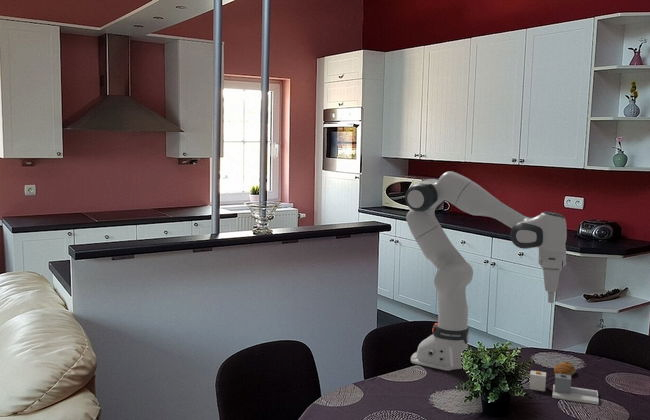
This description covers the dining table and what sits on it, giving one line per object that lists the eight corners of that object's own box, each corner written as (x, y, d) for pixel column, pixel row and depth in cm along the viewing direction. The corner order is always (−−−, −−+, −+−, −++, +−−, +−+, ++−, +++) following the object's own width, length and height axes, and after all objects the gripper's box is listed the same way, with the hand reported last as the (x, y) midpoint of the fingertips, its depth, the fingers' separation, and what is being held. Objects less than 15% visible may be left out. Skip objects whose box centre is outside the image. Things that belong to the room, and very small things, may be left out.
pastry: (567, 380, 221) (568, 369, 221) (549, 375, 225) (549, 365, 225) (576, 373, 228) (577, 363, 228) (558, 369, 233) (558, 359, 232)
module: (529, 389, 212) (530, 372, 211) (530, 384, 216) (531, 368, 215) (545, 391, 210) (545, 374, 209) (545, 387, 214) (546, 370, 213)
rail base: (552, 397, 204) (553, 378, 204) (553, 387, 214) (554, 368, 213) (598, 404, 199) (599, 384, 199) (597, 393, 208) (598, 374, 208)
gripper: (543, 254, 221) (542, 292, 222) (541, 263, 202) (540, 305, 204) (562, 255, 219) (561, 293, 220) (561, 264, 200) (560, 306, 201)
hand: (551, 299), depth 212 cm, fingers open, 8 cm apart
